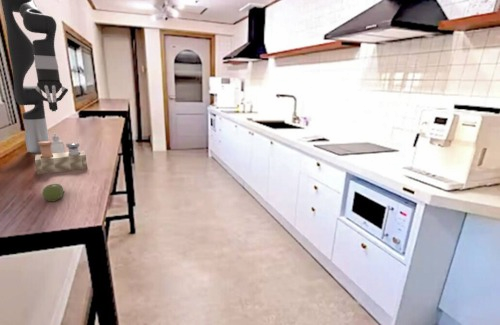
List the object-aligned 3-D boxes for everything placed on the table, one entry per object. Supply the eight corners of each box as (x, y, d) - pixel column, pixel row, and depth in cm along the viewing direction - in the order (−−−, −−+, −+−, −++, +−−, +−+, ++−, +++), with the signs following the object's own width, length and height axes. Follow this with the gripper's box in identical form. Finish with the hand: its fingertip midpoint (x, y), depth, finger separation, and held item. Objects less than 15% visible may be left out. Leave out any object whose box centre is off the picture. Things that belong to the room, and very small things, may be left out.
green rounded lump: (39, 187, 90) (46, 182, 99) (41, 203, 91) (49, 197, 100) (59, 185, 92) (65, 180, 101) (62, 201, 93) (67, 194, 102)
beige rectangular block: (37, 174, 117) (34, 160, 116) (38, 168, 125) (35, 155, 123) (87, 168, 127) (85, 154, 125) (85, 162, 134) (83, 150, 133)
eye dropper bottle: (64, 158, 141) (60, 134, 137) (50, 158, 139) (46, 134, 135) (66, 155, 145) (62, 132, 141) (53, 156, 143) (49, 132, 139)
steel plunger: (70, 168, 125) (66, 145, 122) (69, 165, 129) (66, 143, 126) (82, 166, 128) (79, 144, 125) (81, 163, 132) (78, 142, 129)
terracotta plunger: (41, 167, 119) (37, 144, 117) (41, 164, 123) (37, 141, 120) (55, 165, 122) (51, 143, 119) (55, 163, 126) (51, 140, 123)
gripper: (66, 68, 122) (71, 109, 127) (27, 67, 116) (35, 110, 121) (66, 68, 116) (72, 111, 121) (25, 67, 110) (33, 112, 115)
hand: (53, 111), depth 121 cm, fingers closed
